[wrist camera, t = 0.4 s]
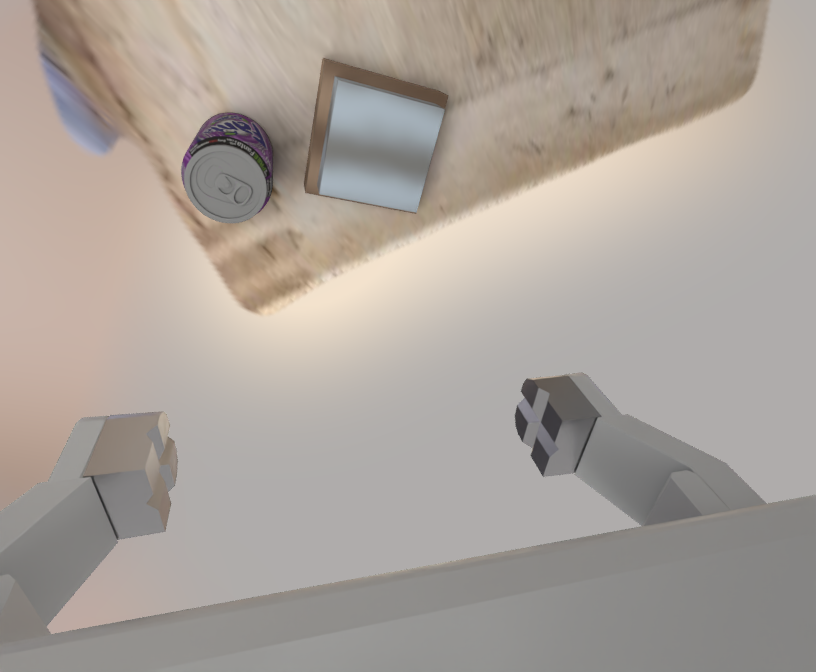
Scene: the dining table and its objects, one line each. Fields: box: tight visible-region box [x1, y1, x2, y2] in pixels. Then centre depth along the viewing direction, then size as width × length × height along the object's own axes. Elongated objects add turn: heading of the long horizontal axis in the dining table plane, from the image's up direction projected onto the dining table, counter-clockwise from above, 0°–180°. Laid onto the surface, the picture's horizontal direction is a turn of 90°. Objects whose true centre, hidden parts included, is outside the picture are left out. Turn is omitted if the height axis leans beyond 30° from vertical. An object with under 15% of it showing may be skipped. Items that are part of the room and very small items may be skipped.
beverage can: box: [181, 113, 273, 223], centre depth 43 cm, size 7×7×12 cm
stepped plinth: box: [304, 58, 448, 214], centre depth 47 cm, size 12×12×6 cm
